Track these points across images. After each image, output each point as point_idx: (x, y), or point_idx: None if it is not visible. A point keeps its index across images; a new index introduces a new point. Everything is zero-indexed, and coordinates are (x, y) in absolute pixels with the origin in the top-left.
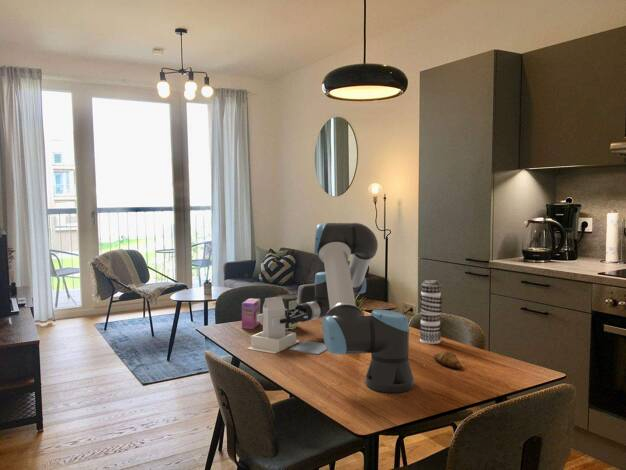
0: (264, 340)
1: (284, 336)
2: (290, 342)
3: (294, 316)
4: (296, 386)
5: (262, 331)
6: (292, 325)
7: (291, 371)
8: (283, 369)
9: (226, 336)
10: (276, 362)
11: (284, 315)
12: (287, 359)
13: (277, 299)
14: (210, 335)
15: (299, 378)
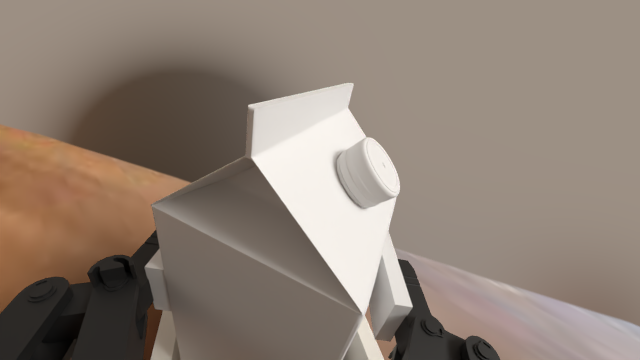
0: None
1: (174, 339)
2: None
3: (9, 357)
4: (21, 142)
5: (372, 337)
6: None
7: (53, 186)
8: (89, 188)
9: (517, 324)
10: (137, 215)
11: (167, 259)
12: (99, 249)
13: (291, 126)
14: (540, 296)
15: (14, 165)
